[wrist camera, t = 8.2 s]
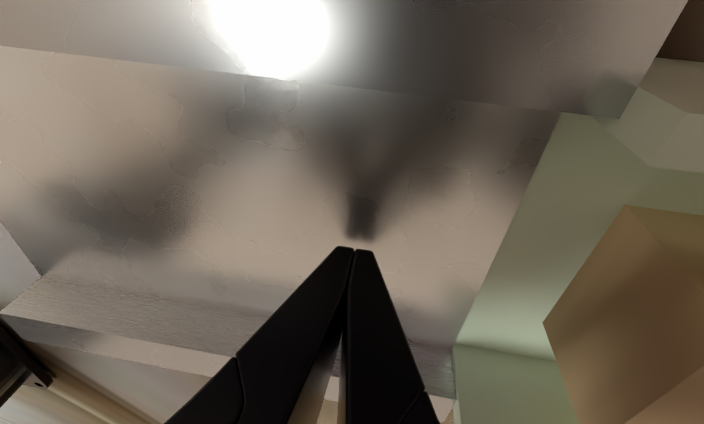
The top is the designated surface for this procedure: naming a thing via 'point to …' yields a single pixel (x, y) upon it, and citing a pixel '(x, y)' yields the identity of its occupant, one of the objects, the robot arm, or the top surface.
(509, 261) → the tray
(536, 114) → the slot board
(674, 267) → the oak chip
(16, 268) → the top surface
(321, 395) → the robot arm
